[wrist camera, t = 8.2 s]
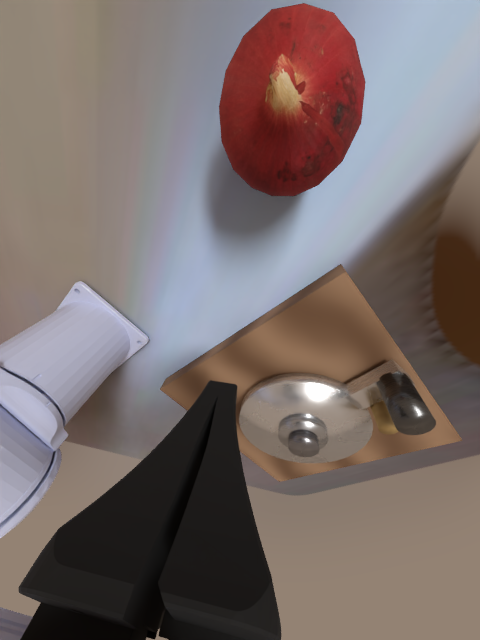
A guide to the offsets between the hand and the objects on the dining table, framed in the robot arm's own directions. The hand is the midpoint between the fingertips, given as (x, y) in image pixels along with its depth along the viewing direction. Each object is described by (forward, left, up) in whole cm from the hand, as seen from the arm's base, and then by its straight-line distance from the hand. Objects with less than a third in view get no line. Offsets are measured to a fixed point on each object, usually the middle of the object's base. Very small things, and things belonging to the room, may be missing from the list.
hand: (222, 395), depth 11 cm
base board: (-3, -12, -9) cm, 16 cm away
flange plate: (-1, -12, -7) cm, 14 cm away
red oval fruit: (+9, +7, -10) cm, 15 cm away
